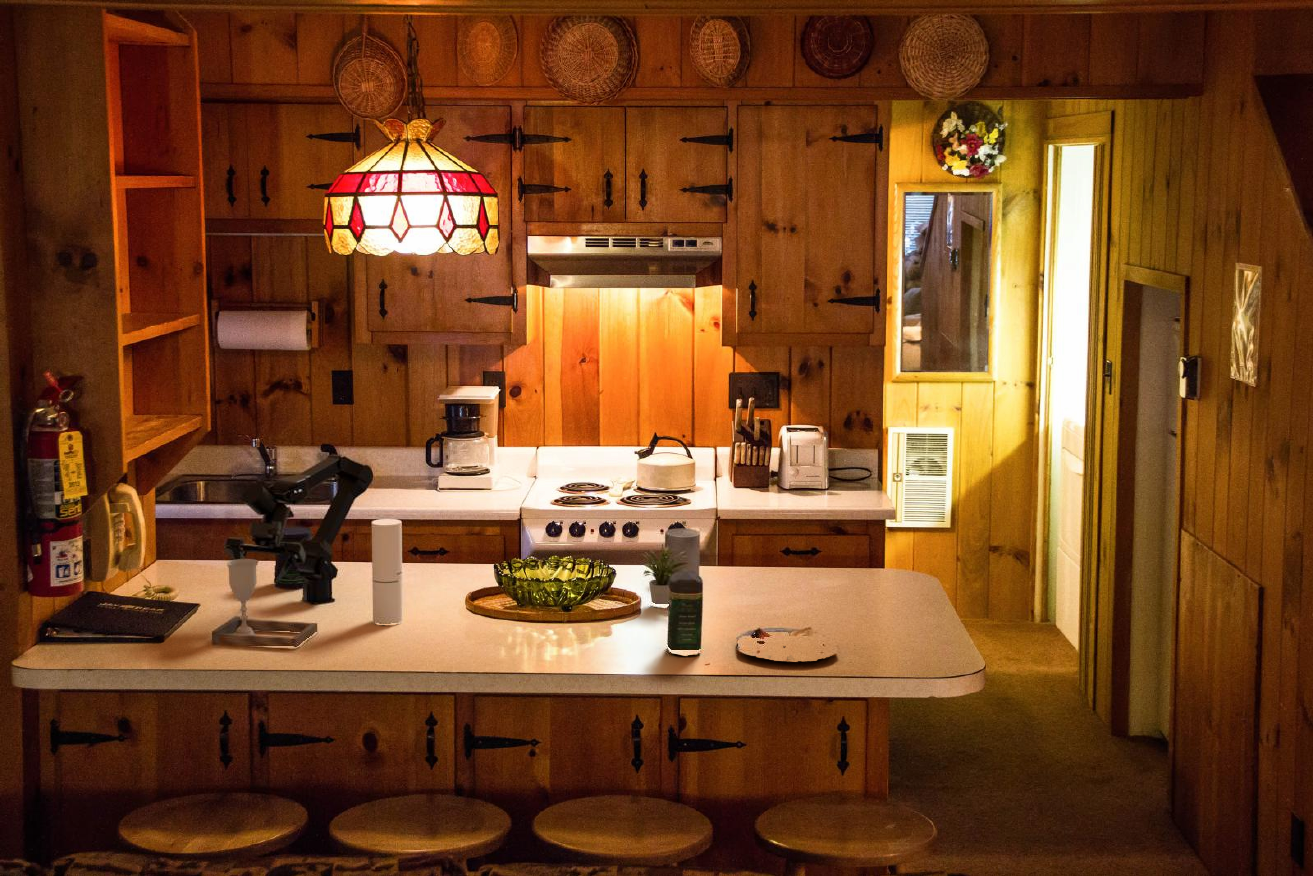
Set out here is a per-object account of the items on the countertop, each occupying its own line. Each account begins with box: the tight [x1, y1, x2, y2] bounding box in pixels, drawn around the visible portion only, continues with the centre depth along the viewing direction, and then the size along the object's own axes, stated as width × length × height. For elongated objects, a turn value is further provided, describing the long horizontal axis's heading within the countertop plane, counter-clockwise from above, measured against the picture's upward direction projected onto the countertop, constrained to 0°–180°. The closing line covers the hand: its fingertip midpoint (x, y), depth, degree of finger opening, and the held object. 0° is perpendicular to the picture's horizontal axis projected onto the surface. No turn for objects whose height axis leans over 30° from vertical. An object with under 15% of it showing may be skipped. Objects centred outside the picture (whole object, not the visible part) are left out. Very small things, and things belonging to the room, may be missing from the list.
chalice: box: [225, 558, 259, 635], centre depth 341 cm, size 7×7×18 cm
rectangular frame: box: [211, 615, 318, 647], centre depth 341 cm, size 20×13×3 cm, turn 82°
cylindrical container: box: [371, 518, 404, 624], centre depth 355 cm, size 7×7×25 cm
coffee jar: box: [666, 571, 704, 650], centre depth 337 cm, size 10×8×19 cm
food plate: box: [735, 626, 839, 653], centre depth 340 cm, size 25×23×4 cm
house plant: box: [640, 543, 691, 604], centre depth 374 cm, size 14×14×16 cm
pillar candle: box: [664, 527, 701, 577], centre depth 400 cm, size 10×10×15 cm
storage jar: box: [273, 525, 312, 591], centre depth 388 cm, size 10×10×15 cm
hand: (256, 581), depth 348 cm, fingers open, 9 cm apart
